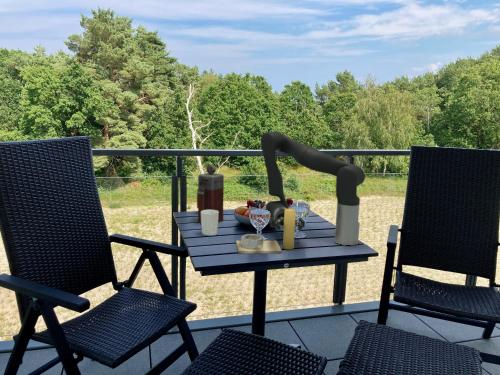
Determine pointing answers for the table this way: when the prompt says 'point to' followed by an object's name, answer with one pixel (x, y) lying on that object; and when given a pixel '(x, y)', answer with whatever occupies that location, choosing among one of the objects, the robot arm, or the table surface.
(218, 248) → the table surface
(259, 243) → the steel ring collar
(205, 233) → the white cup
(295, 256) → the table surface
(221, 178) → the french press
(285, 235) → the ochre steel pin
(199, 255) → the table surface
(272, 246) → the birch board
